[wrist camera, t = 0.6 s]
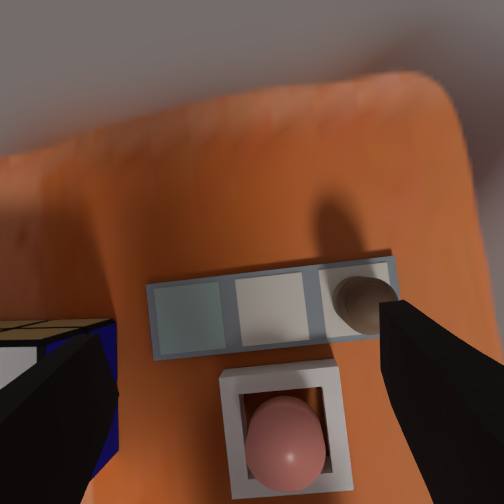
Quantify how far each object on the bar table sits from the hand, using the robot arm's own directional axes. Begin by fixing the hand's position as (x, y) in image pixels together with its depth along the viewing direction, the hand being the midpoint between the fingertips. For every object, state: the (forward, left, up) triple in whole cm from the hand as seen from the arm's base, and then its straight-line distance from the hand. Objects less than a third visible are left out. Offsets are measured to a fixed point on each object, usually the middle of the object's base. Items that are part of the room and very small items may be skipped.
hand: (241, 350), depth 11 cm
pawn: (-1, -6, -20) cm, 21 cm away
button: (-9, 0, -18) cm, 20 cm away
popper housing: (-9, 0, -20) cm, 22 cm away
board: (-1, 0, -20) cm, 20 cm away
